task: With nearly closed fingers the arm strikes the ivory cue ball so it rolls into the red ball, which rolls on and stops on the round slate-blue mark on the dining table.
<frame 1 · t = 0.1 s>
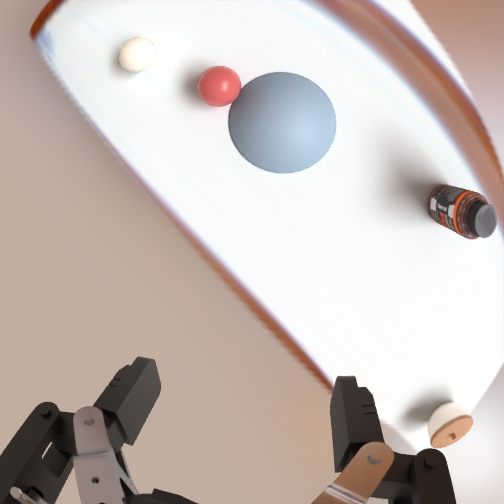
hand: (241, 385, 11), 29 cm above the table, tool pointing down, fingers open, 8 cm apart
cue ball: (137, 54, 31), on the table
supplement bottle: (442, 204, 35), on the table
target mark: (282, 121, 34), on the table
lidded jar: (442, 410, 47), on the table
red ball: (219, 86, 31), on the table
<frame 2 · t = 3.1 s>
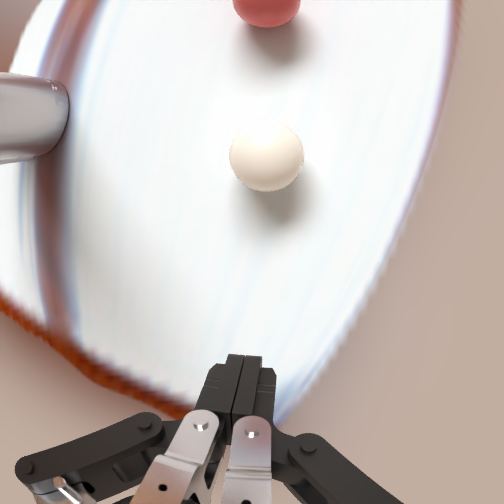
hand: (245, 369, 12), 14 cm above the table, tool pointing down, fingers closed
cue ball: (266, 155, 21), on the table
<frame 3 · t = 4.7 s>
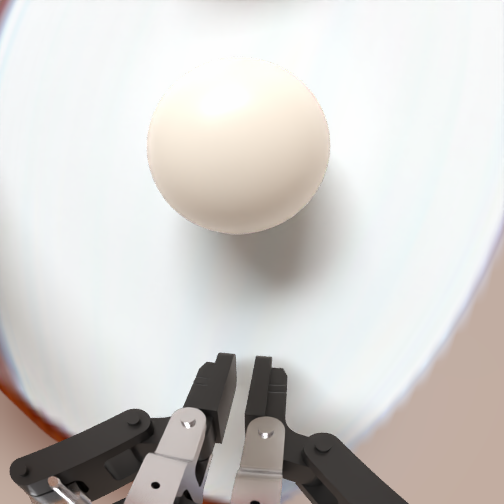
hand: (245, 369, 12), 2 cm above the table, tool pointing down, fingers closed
cue ball: (238, 144, 8), on the table
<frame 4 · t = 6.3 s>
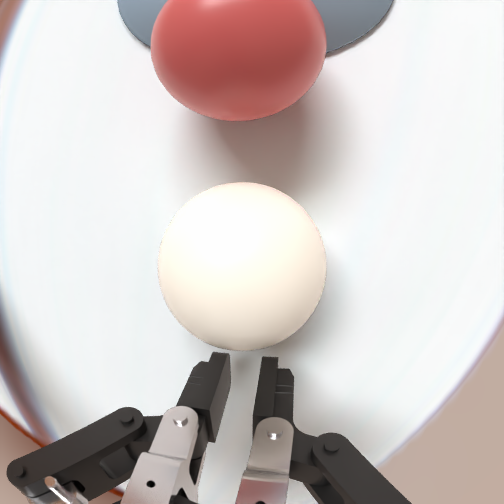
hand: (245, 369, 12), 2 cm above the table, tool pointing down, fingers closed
cue ball: (242, 266, 10), on the table
red ball: (238, 42, 7), on the table
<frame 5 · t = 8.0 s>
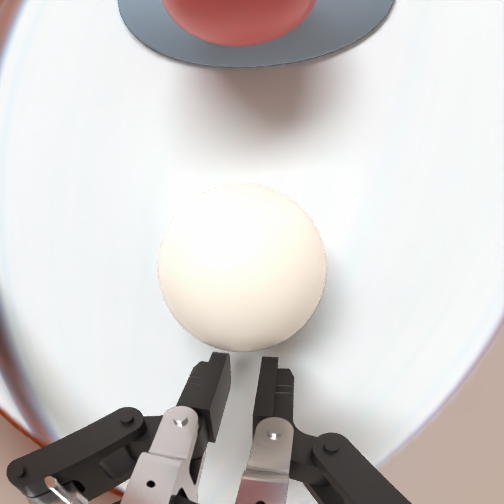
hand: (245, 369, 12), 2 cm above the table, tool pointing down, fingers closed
cue ball: (242, 267, 10), on the table
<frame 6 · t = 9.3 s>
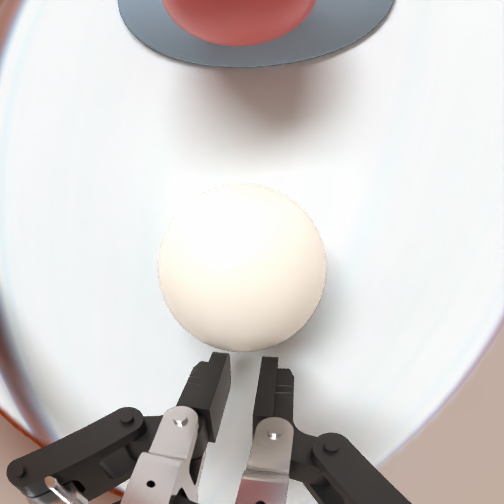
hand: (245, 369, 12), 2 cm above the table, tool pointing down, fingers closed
cue ball: (242, 267, 10), on the table
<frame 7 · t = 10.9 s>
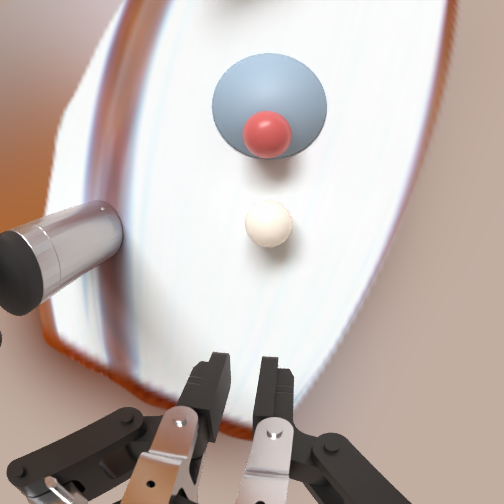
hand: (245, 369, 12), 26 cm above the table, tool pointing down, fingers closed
cue ball: (268, 223, 33), on the table
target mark: (268, 103, 31), on the table
red ball: (267, 134, 30), on the table
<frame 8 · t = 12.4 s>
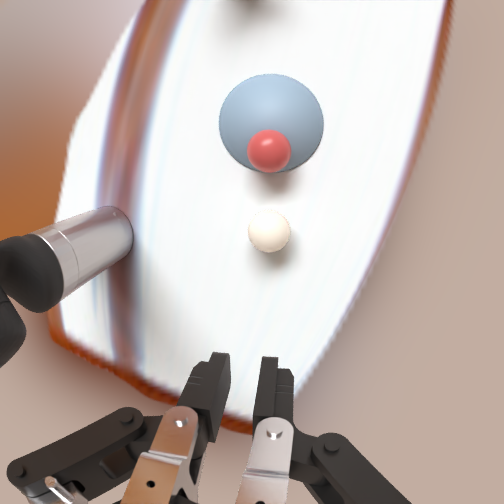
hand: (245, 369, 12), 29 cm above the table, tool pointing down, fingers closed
cue ball: (269, 231, 37), on the table
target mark: (270, 121, 35), on the table
red ball: (269, 150, 34), on the table
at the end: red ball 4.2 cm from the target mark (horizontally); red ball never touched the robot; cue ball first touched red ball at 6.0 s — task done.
